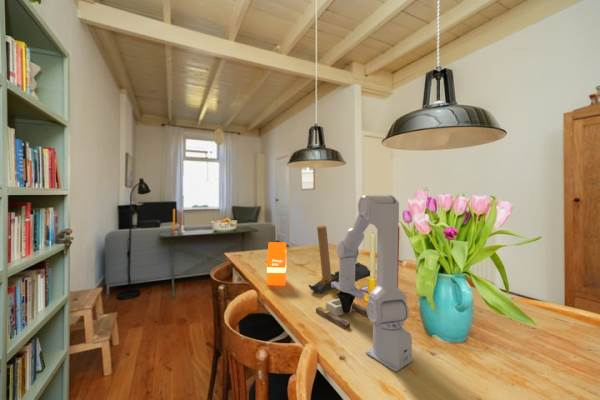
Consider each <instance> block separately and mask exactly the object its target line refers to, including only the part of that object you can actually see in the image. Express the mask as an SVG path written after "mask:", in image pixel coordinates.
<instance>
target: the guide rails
mask: <svg viewBox="0 0 600 400" xmlns="http://www.w3.org/2000/svg"><path fill="white" fill-rule="evenodd" d="M352 311H356V312H358V313H359V314H361V315H363V316H365V317H368V315H367V309H366V308H365V307H363V306H361V305H359V304H357V303H355V302H354V301H353V303H352ZM315 313H316V314H318V315H320V316H322V317H324V319H327V320H329V321H330V322H331V323H333V324H335V325H337V326H339V327H341V328H342V329H344V330H348V329H350V328H351V322H349V321H347V320H345V319H344V318H341V317H340V316H339V315H338V316H336V315H334V314H332V313H330V311H328V310H326V308H323V307H321V306H319V307H315ZM368 318H369V317H368Z"/></svg>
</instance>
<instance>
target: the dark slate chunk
mask: <svg viewBox="0 0 600 400" xmlns="http://www.w3.org/2000/svg"><path fill="white" fill-rule="evenodd" d="M370 271H371V270H369V268H368V267H367V266H366V265H364V264H363V263H360V262H356V263H355V282H357V281H360V280H362V279H365V278H367V277H369V276H371V275H370ZM336 272H339V270H338V271H335V272H334V274H335V273H336Z"/></svg>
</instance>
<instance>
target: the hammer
mask: <svg viewBox="0 0 600 400" xmlns="http://www.w3.org/2000/svg"><path fill="white" fill-rule="evenodd" d="M327 229H328V228H327V226H326V225H318V226H316V231H317V239H318V248H319V258H320V266H321V267H320V268H321V277H322V279H321V280H320V281H318V282H317V283H315V284H313V285H310V284H308V285H307V286H308V287H309V289H310V290H311V291H313V292H316V293H319V294H325V293H327V292H329V291H330V290H333V289H334V288H332V287H331V282H334V281H335V282H339V272H337V271H335V272H336V273H335V272H334V273H331V271H332V270H331V261H330V252H329V242H328V241H329V239H328V231H327Z"/></svg>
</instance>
